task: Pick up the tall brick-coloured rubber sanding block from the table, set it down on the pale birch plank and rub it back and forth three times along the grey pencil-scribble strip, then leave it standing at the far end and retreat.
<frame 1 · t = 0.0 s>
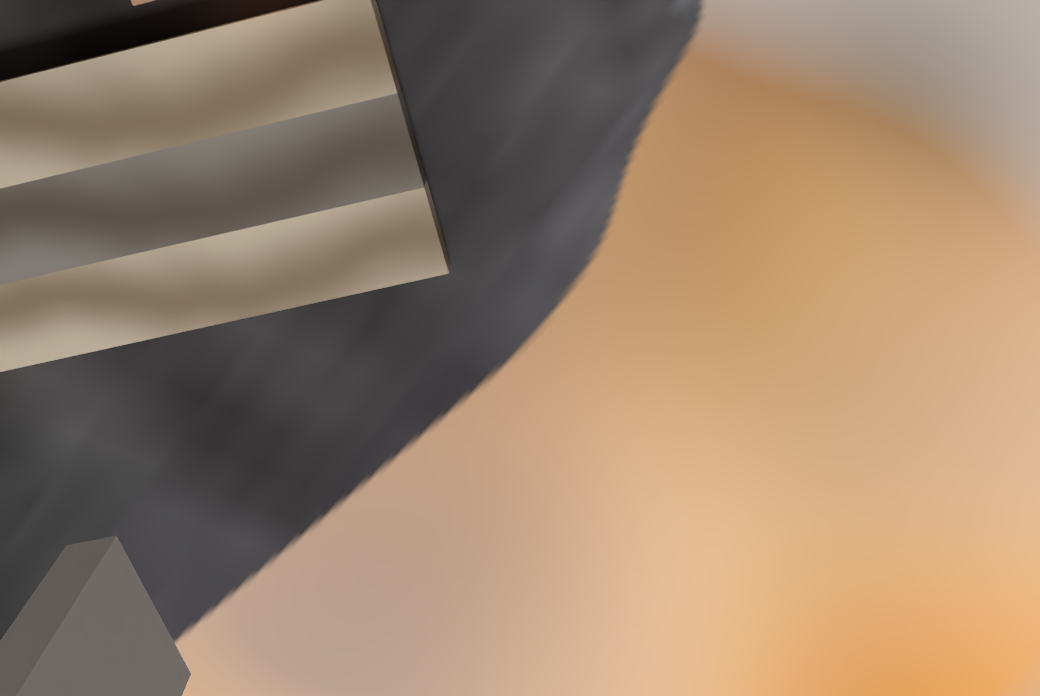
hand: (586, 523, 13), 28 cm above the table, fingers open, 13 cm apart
board: (171, 191, 39), on the table
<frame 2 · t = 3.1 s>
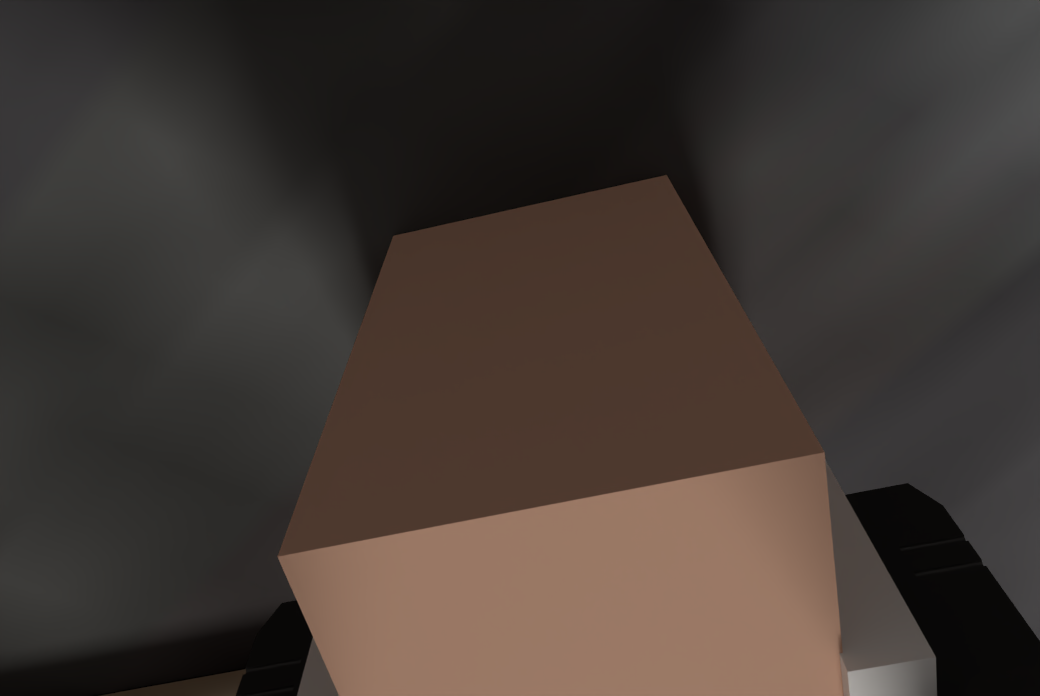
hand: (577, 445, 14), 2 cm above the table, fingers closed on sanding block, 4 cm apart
sanding block: (571, 391, 16), on the table, touching gripper
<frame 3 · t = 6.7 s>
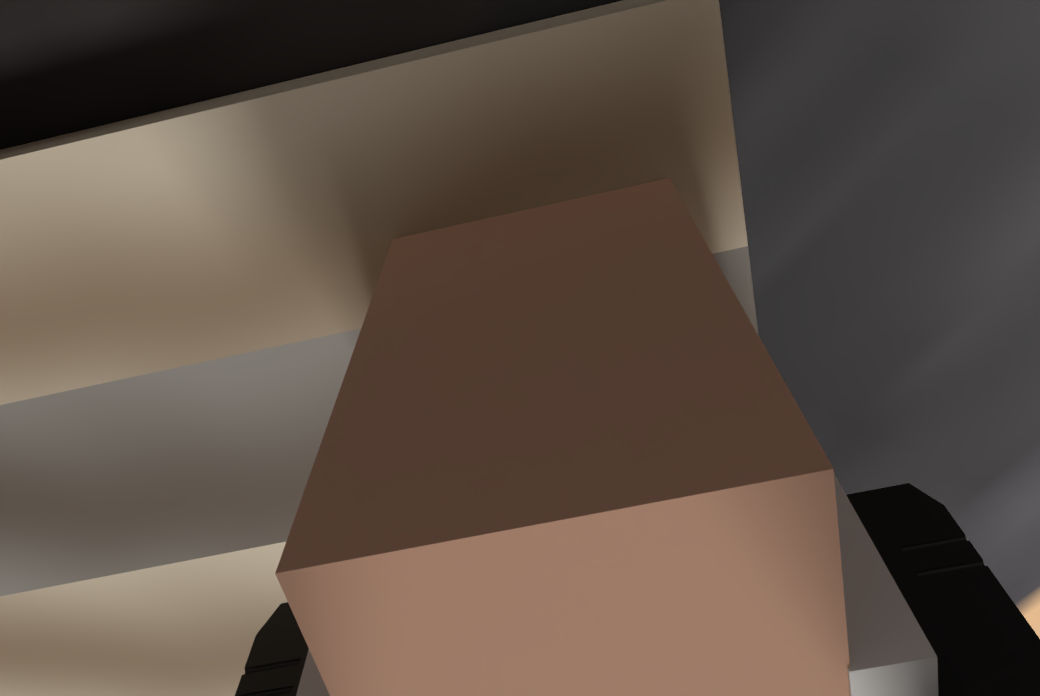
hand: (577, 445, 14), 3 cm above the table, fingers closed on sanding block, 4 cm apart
board: (182, 438, 17), on the table
sanding block: (572, 395, 16), point 1 cm above the table, touching gripper
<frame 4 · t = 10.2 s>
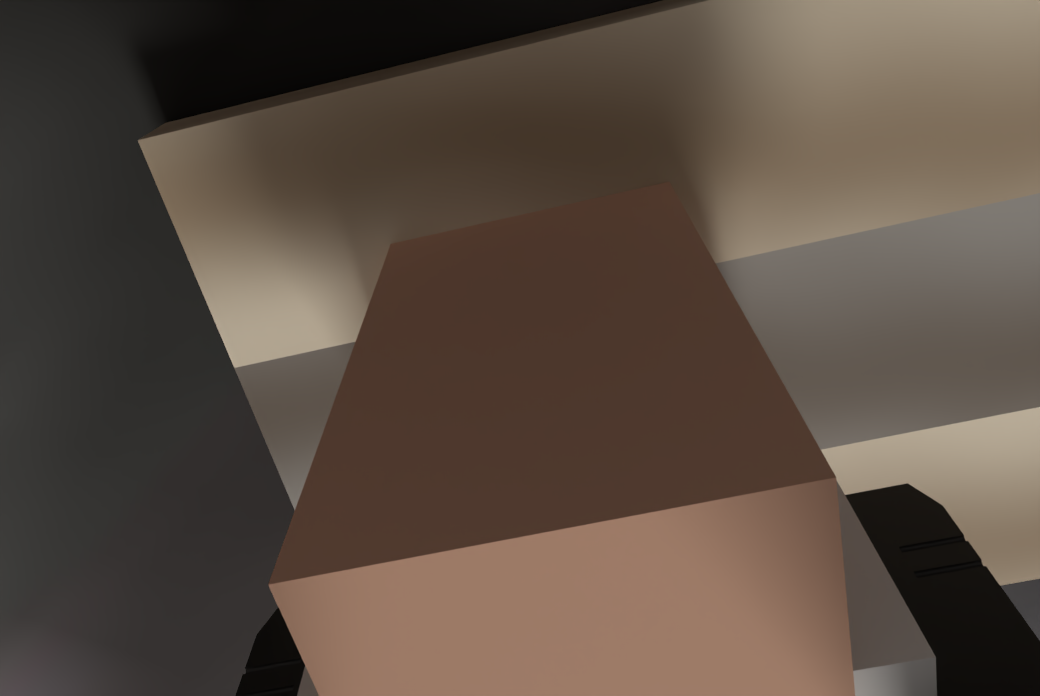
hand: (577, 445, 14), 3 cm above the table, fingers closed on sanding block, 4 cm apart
board: (866, 307, 16), on the table
sanding block: (572, 401, 16), point 1 cm above the table, touching gripper
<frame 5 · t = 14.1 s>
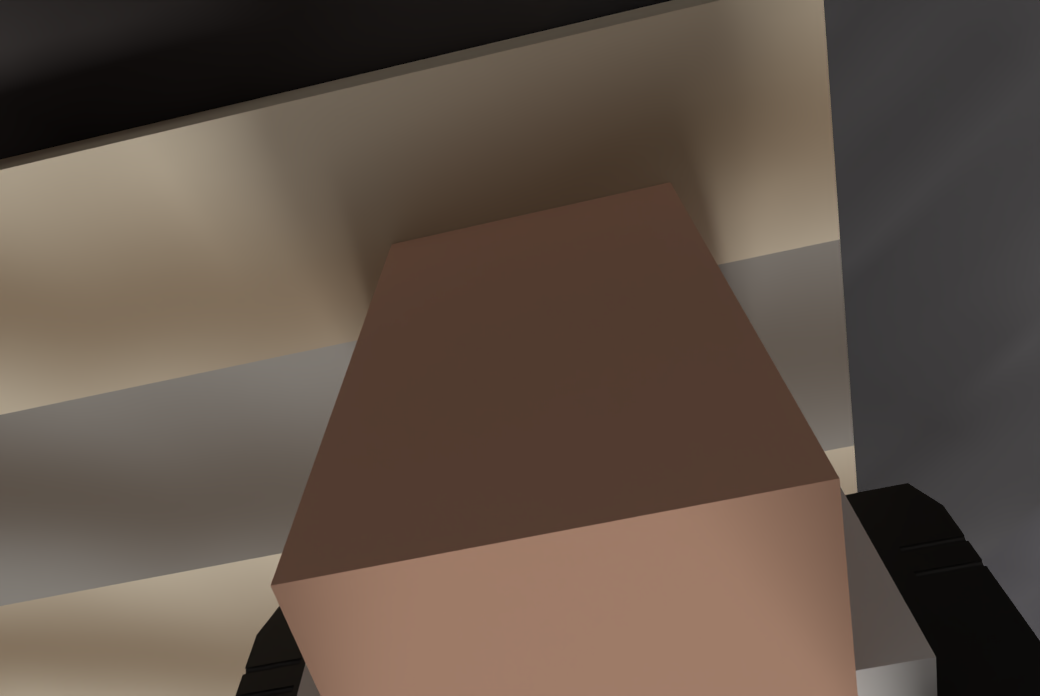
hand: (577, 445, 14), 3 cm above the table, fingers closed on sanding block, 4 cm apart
board: (251, 434, 17), on the table
sanding block: (572, 401, 16), point 1 cm above the table, touching gripper
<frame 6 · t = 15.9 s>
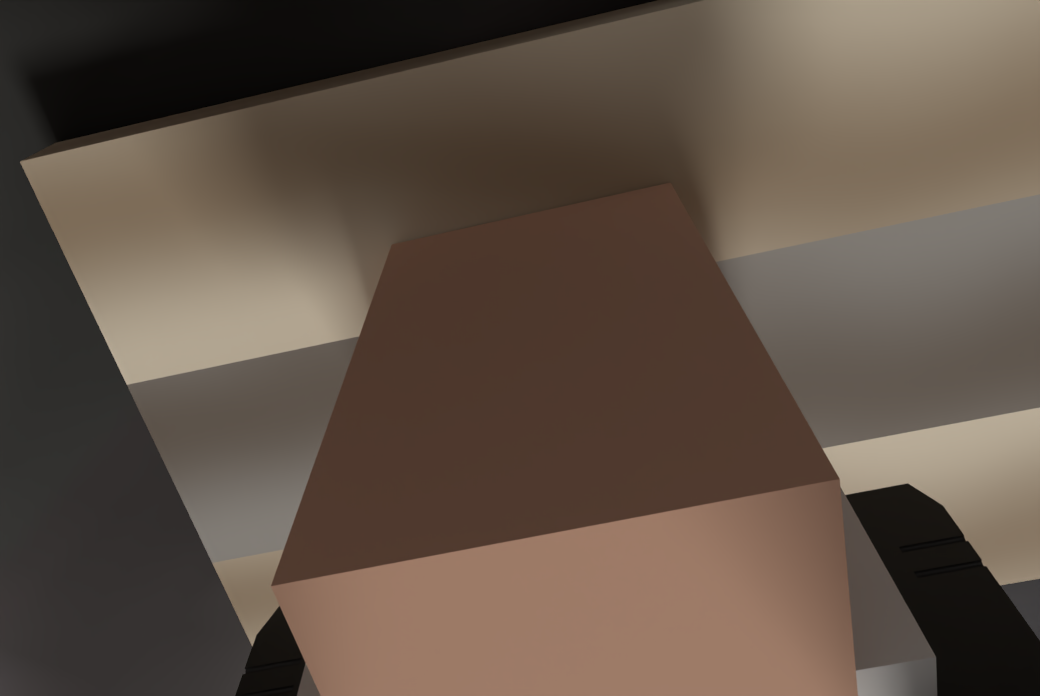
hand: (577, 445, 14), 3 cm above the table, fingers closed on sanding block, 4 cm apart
board: (758, 329, 16), on the table
sanding block: (572, 401, 16), point 1 cm above the table, touching gripper
when the fingers open (3 cm above the table, at t = 17.6 s): sanding block stays where it is, resting on board.
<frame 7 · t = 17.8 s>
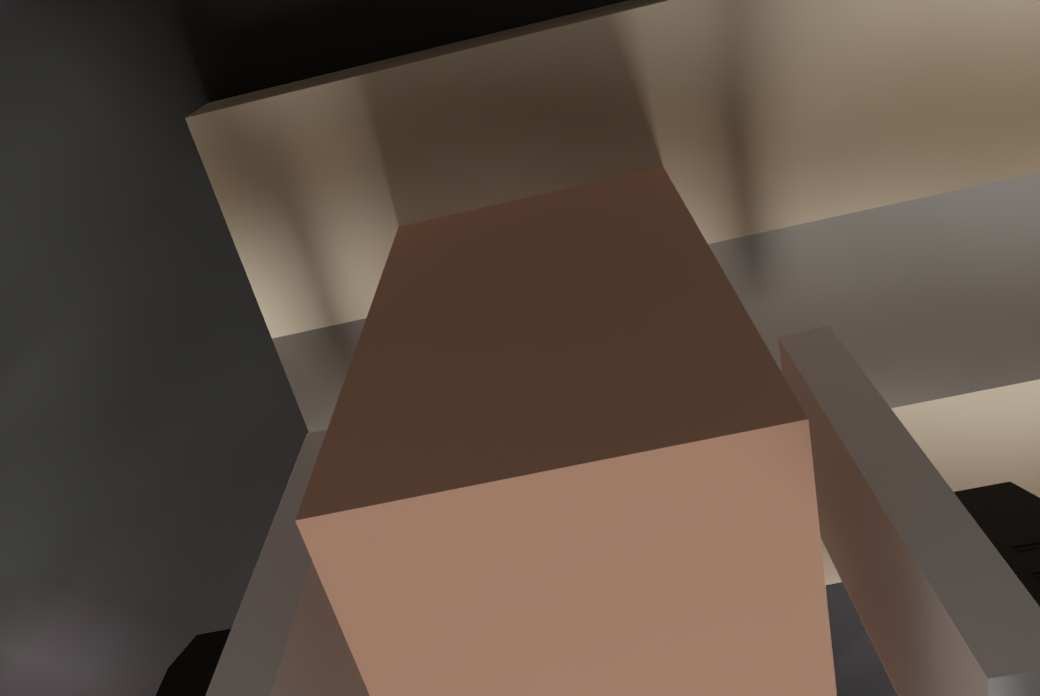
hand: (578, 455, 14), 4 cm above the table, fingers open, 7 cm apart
board: (877, 283, 17), on the table
sanding block: (571, 377, 16), point 1 cm above the table, touching board
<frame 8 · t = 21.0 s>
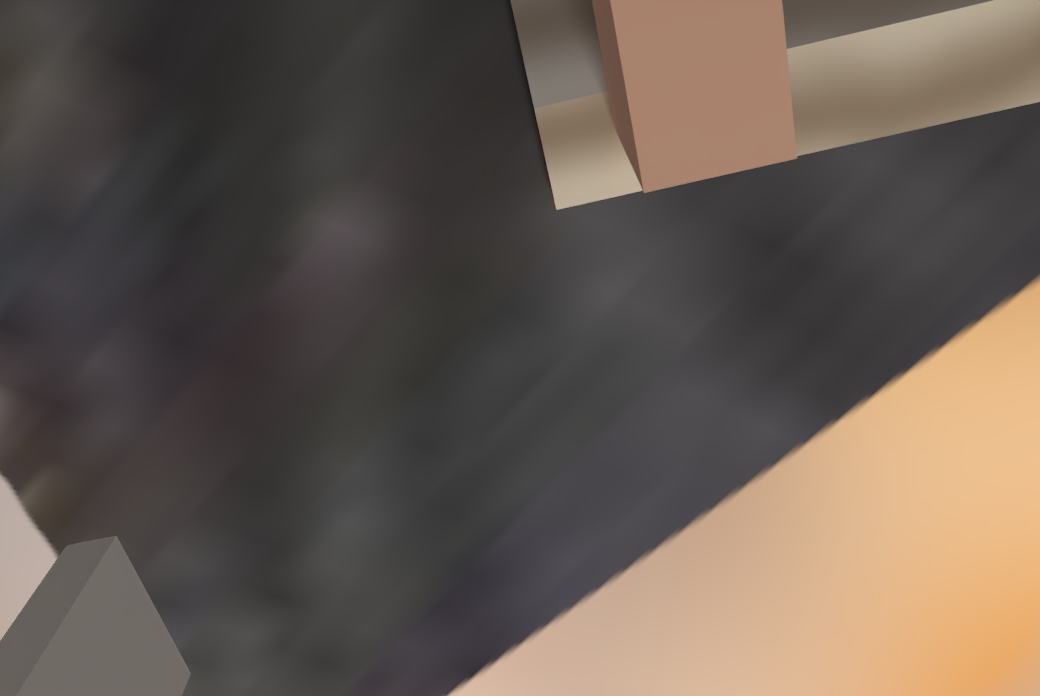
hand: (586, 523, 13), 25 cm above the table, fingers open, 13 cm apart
sanding block: (660, 20, 32), point 1 cm above the table, touching board
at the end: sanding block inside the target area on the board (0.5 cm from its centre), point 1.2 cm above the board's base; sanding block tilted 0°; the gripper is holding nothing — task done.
